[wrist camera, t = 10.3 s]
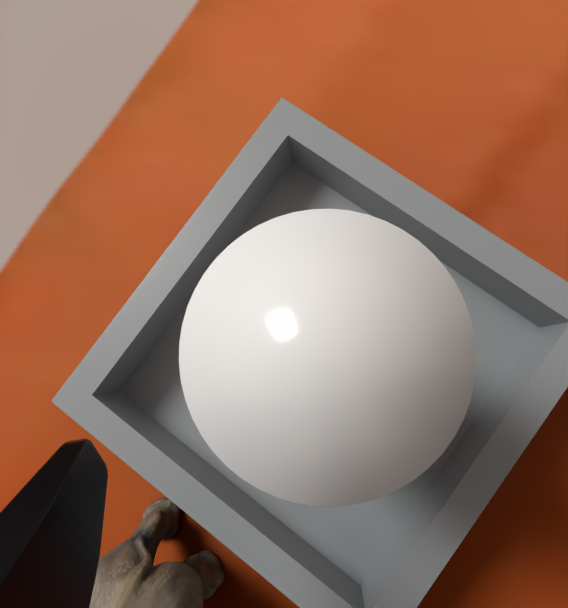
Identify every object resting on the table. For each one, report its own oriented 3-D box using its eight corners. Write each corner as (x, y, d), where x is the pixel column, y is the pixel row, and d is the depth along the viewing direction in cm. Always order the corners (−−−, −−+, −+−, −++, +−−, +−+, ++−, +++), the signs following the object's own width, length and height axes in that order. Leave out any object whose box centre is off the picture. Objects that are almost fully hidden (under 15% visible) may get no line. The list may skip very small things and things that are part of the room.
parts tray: (568, 323, 18) (617, 314, 15) (365, 617, 17) (374, 669, 14) (288, 137, 20) (281, 97, 17) (93, 395, 19) (50, 401, 16)
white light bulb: (406, 318, 18) (511, 256, 8) (367, 446, 17) (426, 553, 7) (282, 280, 18) (233, 175, 8) (241, 402, 18) (137, 445, 8)
